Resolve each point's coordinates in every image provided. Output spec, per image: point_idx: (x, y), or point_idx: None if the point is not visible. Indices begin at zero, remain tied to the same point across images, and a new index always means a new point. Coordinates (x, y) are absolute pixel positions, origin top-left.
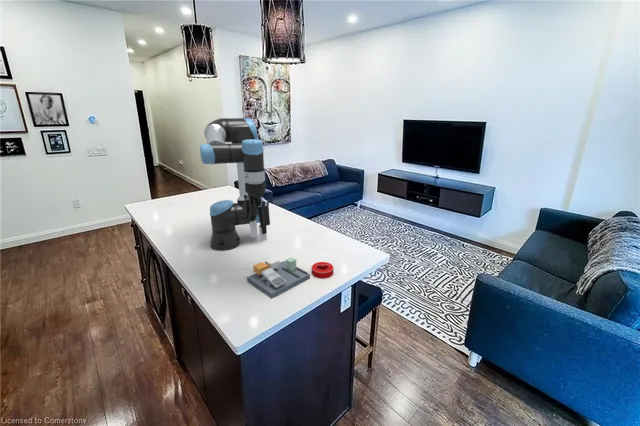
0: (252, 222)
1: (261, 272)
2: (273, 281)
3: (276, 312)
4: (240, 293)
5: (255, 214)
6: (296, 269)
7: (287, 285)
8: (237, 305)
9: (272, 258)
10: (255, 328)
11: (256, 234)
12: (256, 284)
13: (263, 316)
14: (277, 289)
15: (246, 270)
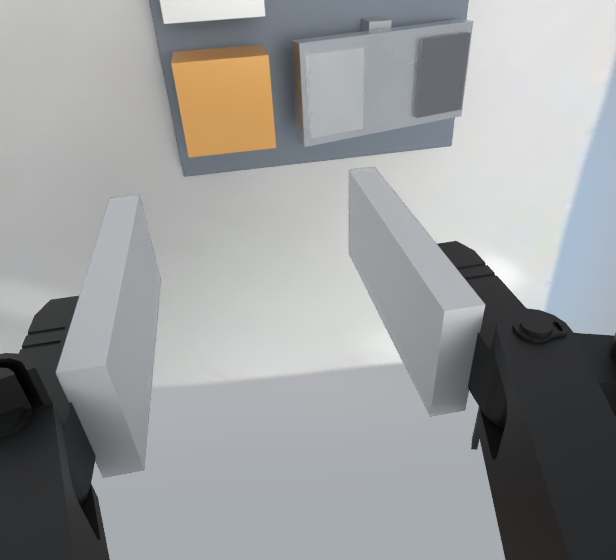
0: (133, 431)
1: (311, 145)
2: (429, 114)
3: (533, 177)
4: (280, 243)
5: (72, 541)
6: None
7: (464, 10)
8: (357, 286)
9: None
10: (526, 283)
11: (140, 219)
12: (295, 161)
13: (503, 233)
14: None
15: (24, 100)
